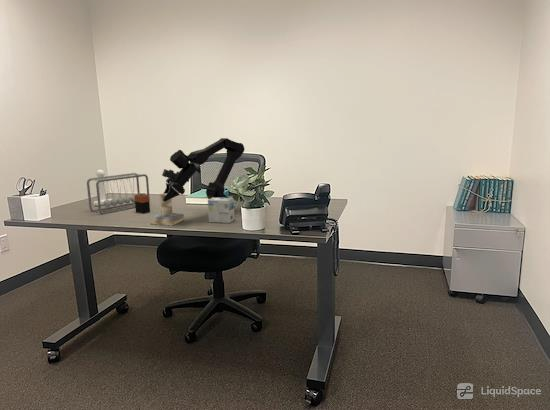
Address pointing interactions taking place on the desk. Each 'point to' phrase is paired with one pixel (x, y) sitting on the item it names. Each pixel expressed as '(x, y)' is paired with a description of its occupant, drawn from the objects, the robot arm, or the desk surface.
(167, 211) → the birch snap block
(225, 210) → the light bulb box
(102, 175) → the joystick
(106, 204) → the newton's cradle
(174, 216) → the foundation plinth
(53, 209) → the desk surface
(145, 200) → the battery
